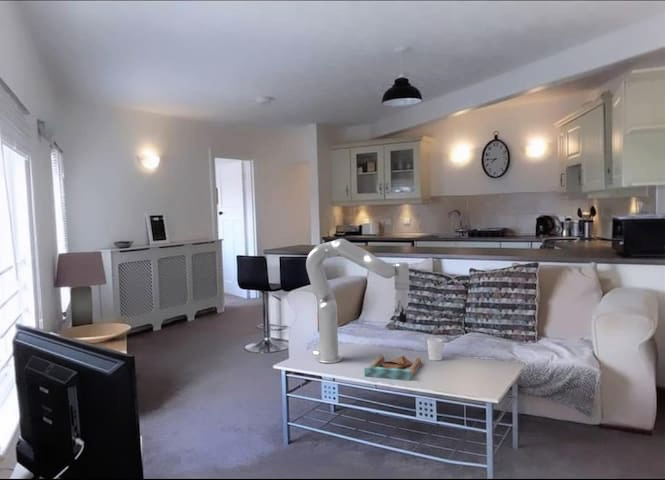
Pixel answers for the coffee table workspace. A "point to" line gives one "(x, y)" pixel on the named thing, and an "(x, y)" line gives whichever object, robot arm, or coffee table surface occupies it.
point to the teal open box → (390, 370)
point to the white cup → (435, 348)
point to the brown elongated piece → (397, 363)
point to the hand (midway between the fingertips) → (402, 321)
